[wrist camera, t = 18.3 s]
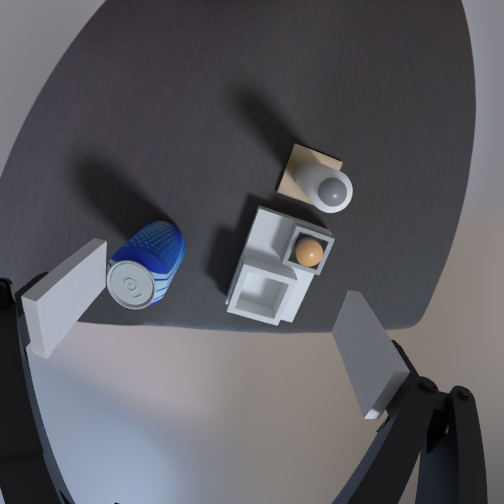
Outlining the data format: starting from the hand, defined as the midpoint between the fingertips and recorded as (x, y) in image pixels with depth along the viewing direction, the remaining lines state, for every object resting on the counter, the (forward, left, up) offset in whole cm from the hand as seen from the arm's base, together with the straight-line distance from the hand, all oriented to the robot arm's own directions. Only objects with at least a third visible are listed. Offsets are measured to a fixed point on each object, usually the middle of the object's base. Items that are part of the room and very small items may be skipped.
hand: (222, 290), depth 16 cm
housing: (+10, +10, -34) cm, 36 cm away
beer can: (+13, -9, -34) cm, 37 cm away
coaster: (-5, +10, -34) cm, 35 cm away
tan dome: (+5, +12, -31) cm, 33 cm away
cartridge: (-5, +10, -33) cm, 35 cm away
